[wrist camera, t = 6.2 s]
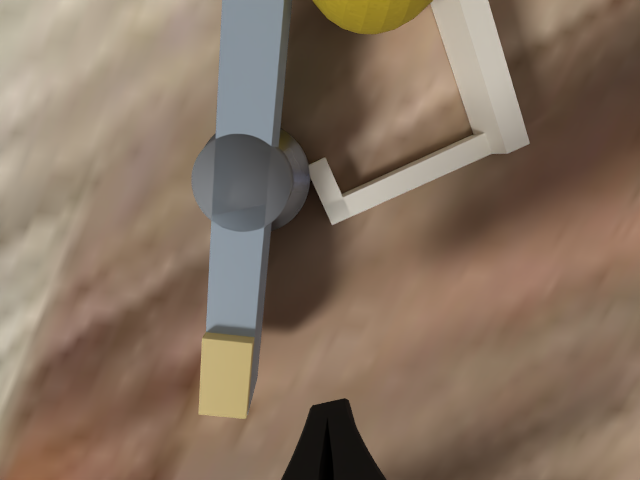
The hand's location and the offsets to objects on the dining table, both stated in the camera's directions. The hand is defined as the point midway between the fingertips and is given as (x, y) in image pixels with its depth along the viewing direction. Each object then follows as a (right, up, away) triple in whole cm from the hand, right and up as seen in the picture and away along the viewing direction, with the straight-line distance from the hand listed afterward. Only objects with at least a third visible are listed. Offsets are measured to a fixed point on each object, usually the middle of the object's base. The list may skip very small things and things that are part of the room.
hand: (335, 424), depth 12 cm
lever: (-3, +9, +3) cm, 10 cm away
